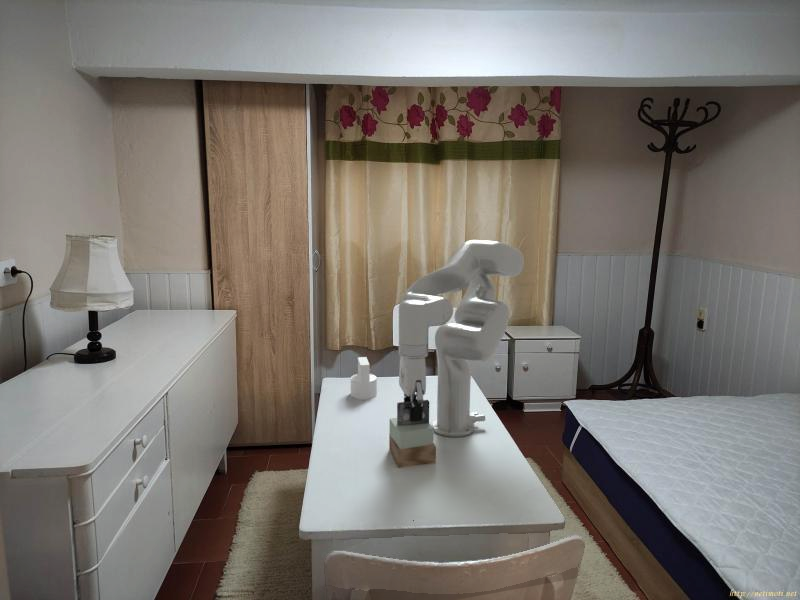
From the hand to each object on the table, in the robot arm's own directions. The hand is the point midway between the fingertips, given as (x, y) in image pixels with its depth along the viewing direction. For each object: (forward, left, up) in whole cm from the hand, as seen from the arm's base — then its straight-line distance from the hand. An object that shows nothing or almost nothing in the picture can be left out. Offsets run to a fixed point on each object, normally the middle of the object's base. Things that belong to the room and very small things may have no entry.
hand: (413, 415), depth 140 cm
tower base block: (0, 0, -12) cm, 12 cm away
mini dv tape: (0, 0, -2) cm, 2 cm away
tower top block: (0, 0, -7) cm, 7 cm away
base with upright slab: (+5, -47, -12) cm, 49 cm away
